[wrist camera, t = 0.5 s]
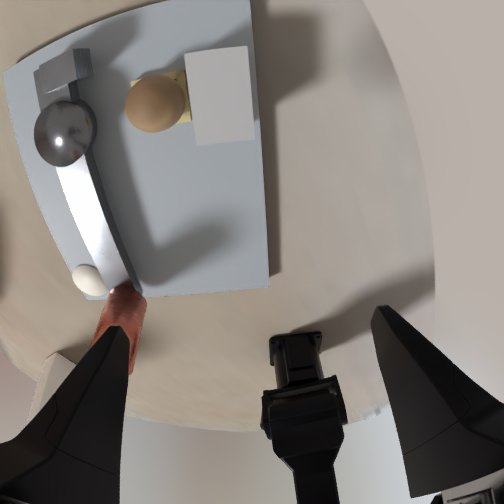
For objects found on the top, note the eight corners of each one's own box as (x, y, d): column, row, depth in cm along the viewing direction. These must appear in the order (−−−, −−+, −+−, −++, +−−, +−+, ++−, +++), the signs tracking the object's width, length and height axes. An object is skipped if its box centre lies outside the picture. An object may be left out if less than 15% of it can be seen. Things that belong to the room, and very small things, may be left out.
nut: (193, 120, 16) (184, 133, 13) (141, 130, 16) (122, 145, 13) (186, 68, 14) (175, 69, 11) (132, 80, 14) (110, 86, 11)
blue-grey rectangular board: (268, 278, 27) (274, 321, 23) (89, 292, 27) (74, 329, 23) (247, -6, 12) (253, -30, 8) (10, 71, 12) (-32, 84, 8)
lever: (89, 48, 11) (9, 54, 5) (162, 303, 25) (149, 377, 19) (33, 74, 11) (-46, 101, 5) (117, 305, 25) (97, 374, 19)
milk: (84, 369, 38) (64, 488, 21) (71, 375, 40) (51, 482, 23) (55, 350, 35) (27, 474, 17) (44, 358, 36) (18, 468, 19)
